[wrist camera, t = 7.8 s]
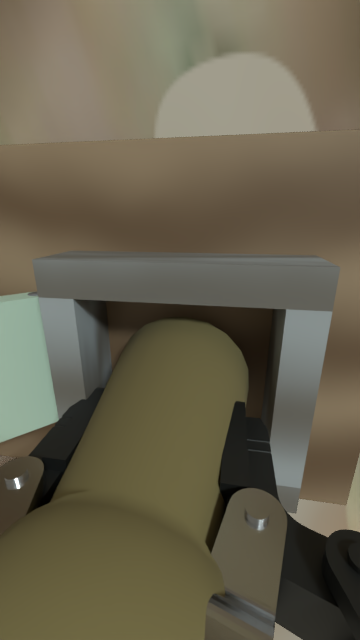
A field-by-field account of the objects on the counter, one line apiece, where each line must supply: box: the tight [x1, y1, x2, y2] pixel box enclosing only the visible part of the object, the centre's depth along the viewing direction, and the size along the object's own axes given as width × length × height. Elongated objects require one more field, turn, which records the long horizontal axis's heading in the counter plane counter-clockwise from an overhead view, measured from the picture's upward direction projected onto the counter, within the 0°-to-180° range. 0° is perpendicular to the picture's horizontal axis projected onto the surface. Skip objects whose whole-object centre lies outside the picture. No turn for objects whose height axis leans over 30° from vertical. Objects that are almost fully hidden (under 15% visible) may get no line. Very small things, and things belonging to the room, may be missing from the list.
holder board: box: [0, 129, 360, 513], centre depth 15 cm, size 18×25×4 cm
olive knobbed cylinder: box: [0, 317, 249, 640], centre depth 9 cm, size 6×6×11 cm
